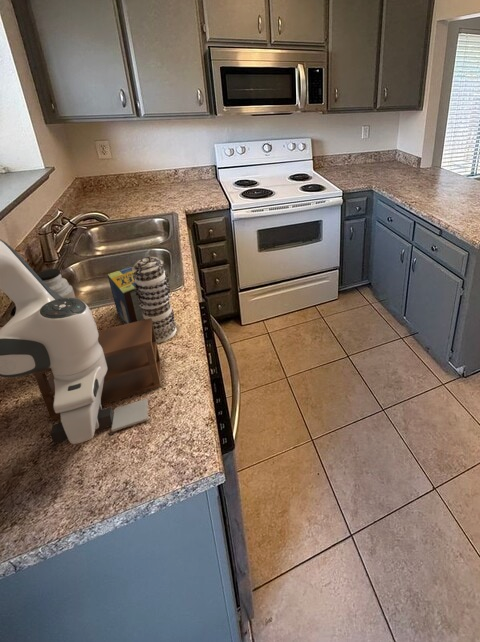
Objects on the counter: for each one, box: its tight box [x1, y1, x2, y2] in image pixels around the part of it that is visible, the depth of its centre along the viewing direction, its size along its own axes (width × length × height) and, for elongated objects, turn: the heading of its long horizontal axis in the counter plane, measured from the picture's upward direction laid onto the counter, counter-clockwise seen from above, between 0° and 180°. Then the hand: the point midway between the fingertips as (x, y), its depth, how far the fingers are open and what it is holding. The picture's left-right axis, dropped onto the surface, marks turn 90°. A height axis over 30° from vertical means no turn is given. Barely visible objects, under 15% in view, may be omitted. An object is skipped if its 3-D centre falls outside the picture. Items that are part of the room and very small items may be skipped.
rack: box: [33, 318, 162, 421], centre depth 87 cm, size 23×10×14 cm, turn 114°
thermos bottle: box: [36, 268, 76, 298], centre depth 93 cm, size 8×8×28 cm
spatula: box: [49, 398, 149, 445], centre depth 79 cm, size 18×6×3 cm, turn 114°
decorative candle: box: [132, 256, 177, 344], centre depth 105 cm, size 9×9×25 cm
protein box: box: [107, 265, 143, 325], centre depth 114 cm, size 10×15×16 cm
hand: (96, 420), depth 79 cm, fingers closed on spatula, 2 cm apart
